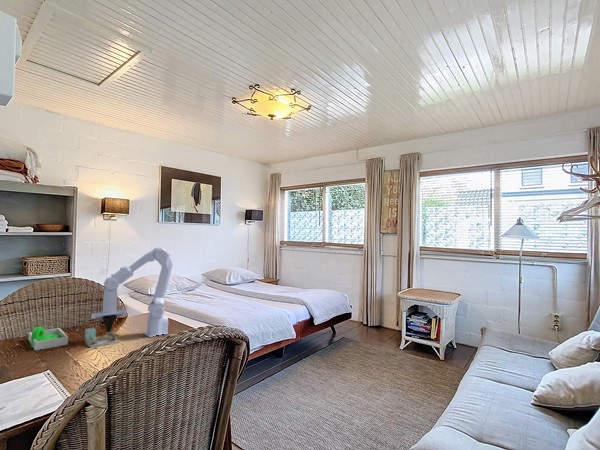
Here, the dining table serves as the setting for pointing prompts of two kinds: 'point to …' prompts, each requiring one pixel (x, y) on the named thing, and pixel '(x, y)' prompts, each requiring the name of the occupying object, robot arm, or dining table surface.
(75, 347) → the dining table surface
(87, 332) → the sliding leg
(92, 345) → the template plate
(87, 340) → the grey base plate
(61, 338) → the white tray
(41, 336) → the mechanical part
